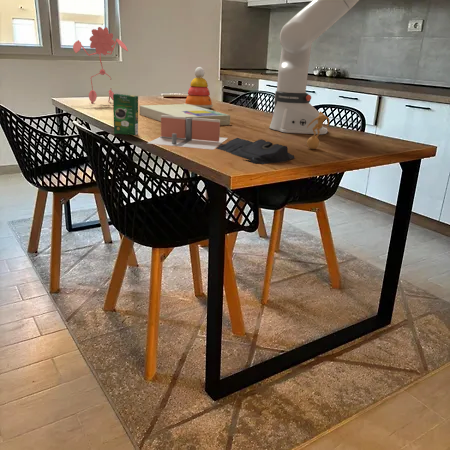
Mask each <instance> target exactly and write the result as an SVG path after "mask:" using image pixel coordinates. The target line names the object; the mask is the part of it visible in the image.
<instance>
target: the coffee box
mask: <svg viewBox="0 0 450 450" xmlns="http://www.w3.org/2000/svg"><path fill="white" fill-rule="evenodd" d="M112 101H113V102H112V103H113V104H112V105H113V106H112V107H113V134H114V135H116V134H118V135H119V134H120V135H128V136H130V135H131V136H137V135H138V134H139V95H131V94H121V93H114V94H113V100H112Z"/></svg>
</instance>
